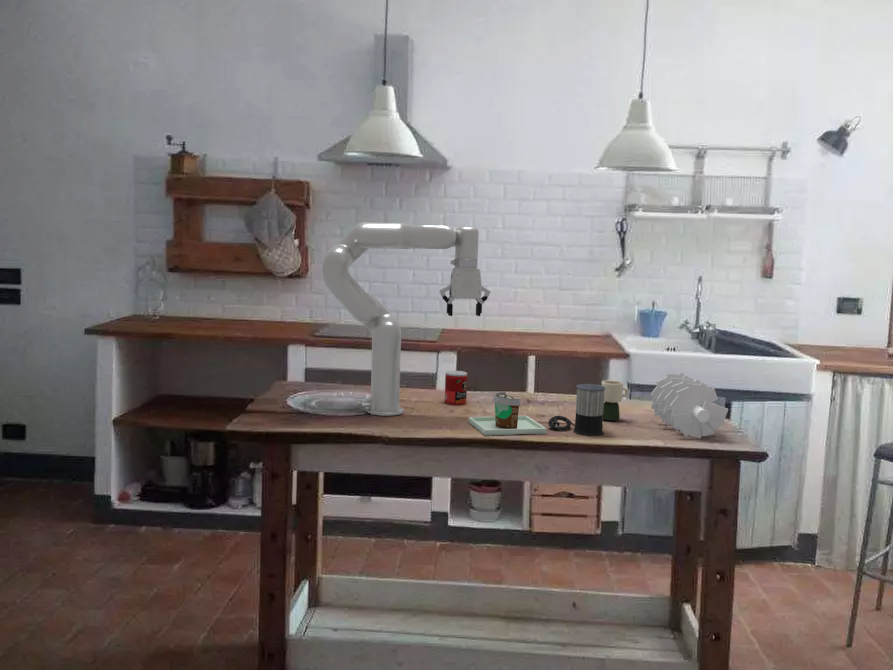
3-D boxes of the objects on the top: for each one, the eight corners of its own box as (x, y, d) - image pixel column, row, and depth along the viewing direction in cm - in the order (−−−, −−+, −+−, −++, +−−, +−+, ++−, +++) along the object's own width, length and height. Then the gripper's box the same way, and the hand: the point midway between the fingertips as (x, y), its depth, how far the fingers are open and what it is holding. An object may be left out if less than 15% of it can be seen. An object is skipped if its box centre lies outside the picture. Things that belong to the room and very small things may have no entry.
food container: (486, 422, 303) (487, 391, 302) (503, 421, 305) (504, 391, 304) (500, 431, 292) (501, 399, 290) (518, 430, 294) (520, 399, 292)
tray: (485, 436, 288) (485, 430, 287) (468, 422, 305) (468, 417, 305) (546, 434, 293) (546, 428, 293) (526, 420, 310) (526, 415, 310)
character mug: (623, 418, 320) (625, 380, 318) (628, 422, 313) (631, 384, 311) (591, 417, 319) (594, 379, 317) (596, 422, 312) (598, 383, 310)
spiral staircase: (686, 453, 292) (657, 430, 316) (737, 429, 292) (704, 408, 317) (666, 401, 287) (638, 382, 312) (718, 377, 288) (686, 360, 313)
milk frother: (607, 435, 294) (610, 389, 292) (560, 437, 290) (563, 389, 288) (589, 425, 308) (592, 380, 306) (544, 426, 303) (546, 381, 301)
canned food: (458, 406, 329) (459, 375, 328) (439, 402, 334) (441, 372, 332) (470, 403, 335) (472, 372, 334) (452, 399, 340) (454, 369, 338)
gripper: (443, 264, 305) (441, 317, 307) (494, 265, 309) (492, 317, 312) (437, 262, 312) (436, 314, 314) (487, 263, 317) (485, 314, 319)
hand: (464, 315), depth 313 cm, fingers open, 9 cm apart
